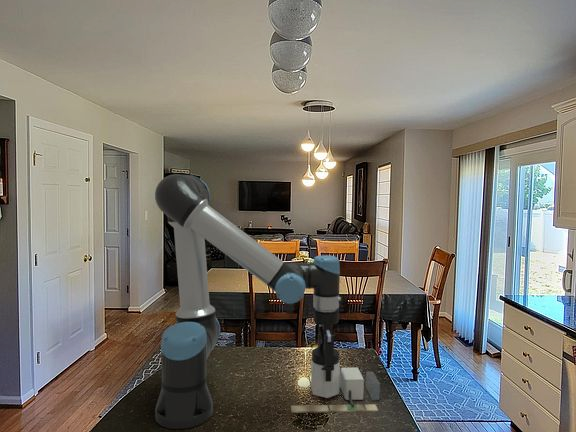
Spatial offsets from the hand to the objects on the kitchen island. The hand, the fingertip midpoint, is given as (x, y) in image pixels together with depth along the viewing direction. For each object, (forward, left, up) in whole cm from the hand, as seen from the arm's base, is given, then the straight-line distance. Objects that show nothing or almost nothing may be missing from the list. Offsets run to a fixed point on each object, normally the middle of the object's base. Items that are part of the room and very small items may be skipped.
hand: (325, 382), depth 125 cm
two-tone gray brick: (+14, 0, -3) cm, 15 cm away
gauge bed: (+1, -8, -3) cm, 9 cm away
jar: (0, 0, -3) cm, 3 cm away
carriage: (+8, -2, -3) cm, 9 cm away
